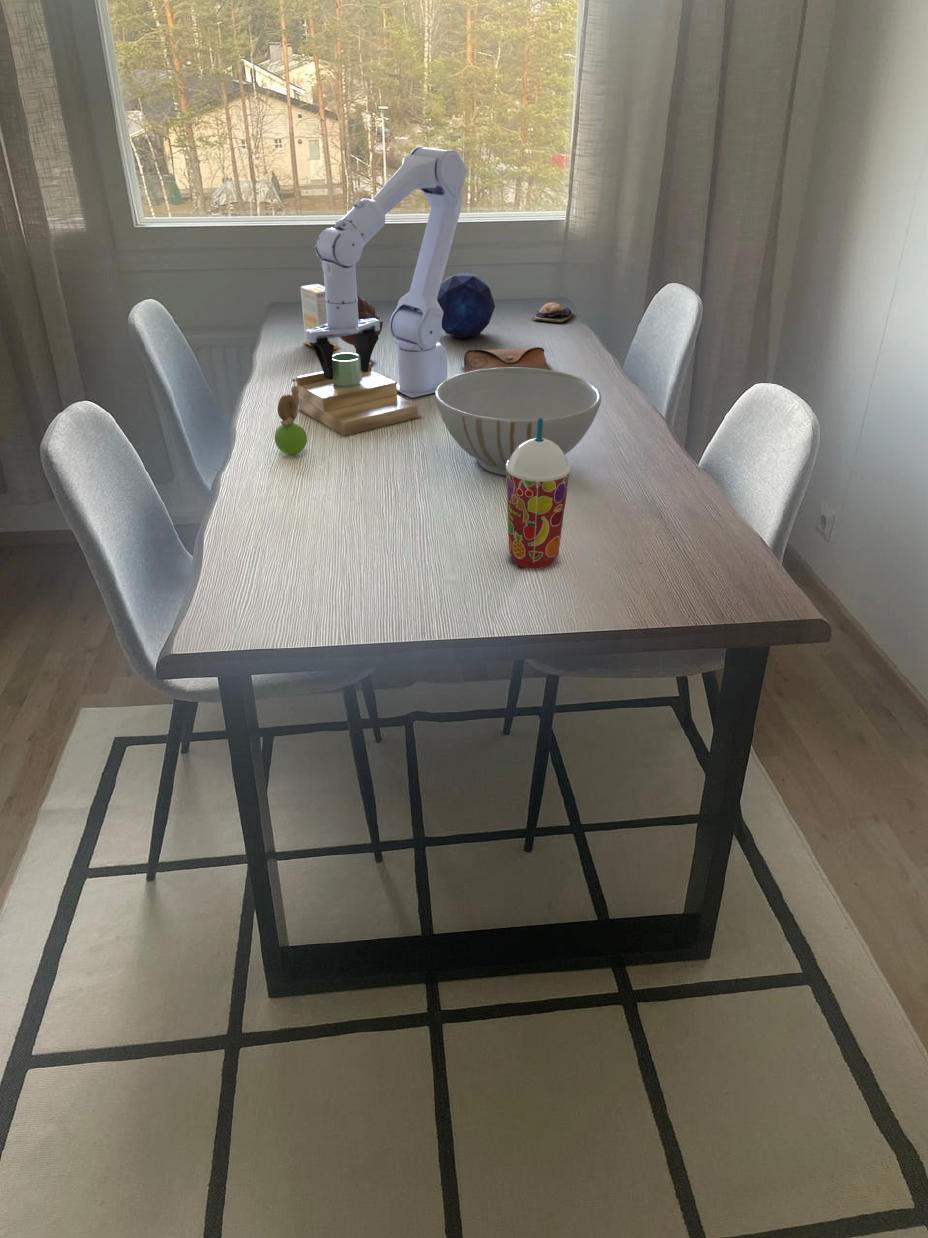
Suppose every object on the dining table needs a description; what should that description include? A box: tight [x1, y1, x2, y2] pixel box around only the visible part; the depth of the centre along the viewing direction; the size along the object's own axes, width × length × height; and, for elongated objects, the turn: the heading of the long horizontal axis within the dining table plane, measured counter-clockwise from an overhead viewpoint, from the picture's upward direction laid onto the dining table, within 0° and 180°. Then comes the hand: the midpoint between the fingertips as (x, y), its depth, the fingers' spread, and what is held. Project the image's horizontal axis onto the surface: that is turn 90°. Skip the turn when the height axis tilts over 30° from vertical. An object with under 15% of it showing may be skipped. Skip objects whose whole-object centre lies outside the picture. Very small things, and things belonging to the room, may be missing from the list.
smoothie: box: [505, 418, 572, 570], centre depth 121 cm, size 8×8×20 cm
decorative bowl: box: [434, 367, 602, 476], centre depth 152 cm, size 27×27×12 cm
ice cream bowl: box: [339, 294, 384, 366], centre depth 198 cm, size 11×11×15 cm
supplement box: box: [299, 283, 339, 350], centre depth 210 cm, size 8×5×13 cm, turn 34°
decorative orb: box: [437, 271, 496, 340], centre depth 218 cm, size 14×15×15 cm
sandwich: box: [533, 302, 573, 323], centre depth 235 cm, size 11×8×4 cm
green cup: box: [332, 352, 362, 387], centre depth 173 cm, size 6×6×5 cm
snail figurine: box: [274, 378, 308, 455], centre depth 155 cm, size 5×6×12 cm
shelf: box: [295, 363, 419, 437], centre depth 173 cm, size 17×16×6 cm
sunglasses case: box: [463, 346, 550, 373], centre depth 198 cm, size 18×7×7 cm
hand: (346, 374), depth 174 cm, fingers open, 7 cm apart
